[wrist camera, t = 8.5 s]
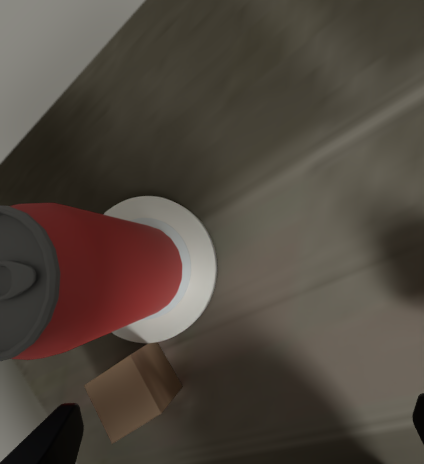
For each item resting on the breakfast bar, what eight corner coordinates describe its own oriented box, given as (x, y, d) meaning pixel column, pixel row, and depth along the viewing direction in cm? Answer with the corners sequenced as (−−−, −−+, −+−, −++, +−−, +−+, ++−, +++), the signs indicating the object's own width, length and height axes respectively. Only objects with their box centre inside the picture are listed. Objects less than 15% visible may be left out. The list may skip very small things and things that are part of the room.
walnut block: (182, 386, 22) (161, 413, 18) (141, 412, 23) (112, 443, 19) (156, 338, 23) (130, 354, 19) (117, 364, 23) (83, 385, 19)
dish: (233, 323, 21) (230, 327, 20) (102, 350, 24) (92, 355, 22) (198, 181, 23) (193, 177, 22) (79, 220, 25) (68, 218, 24)
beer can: (190, 310, 21) (73, 375, 9) (108, 318, 22) (-82, 383, 11) (180, 219, 22) (59, 174, 10) (101, 232, 23) (-84, 207, 11)
